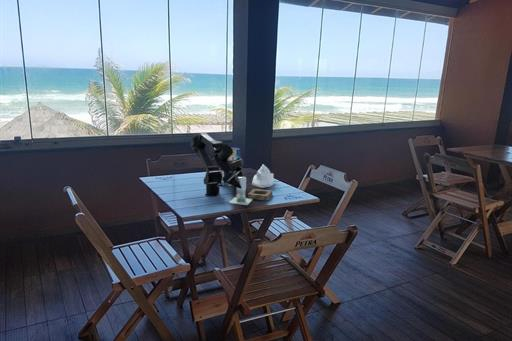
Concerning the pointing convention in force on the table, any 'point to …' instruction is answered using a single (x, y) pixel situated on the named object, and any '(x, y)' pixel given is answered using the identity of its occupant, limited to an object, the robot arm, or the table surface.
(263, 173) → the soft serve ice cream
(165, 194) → the table surface
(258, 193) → the walnut stand
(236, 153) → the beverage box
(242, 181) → the steel tube
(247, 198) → the sage mat
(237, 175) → the robot arm
